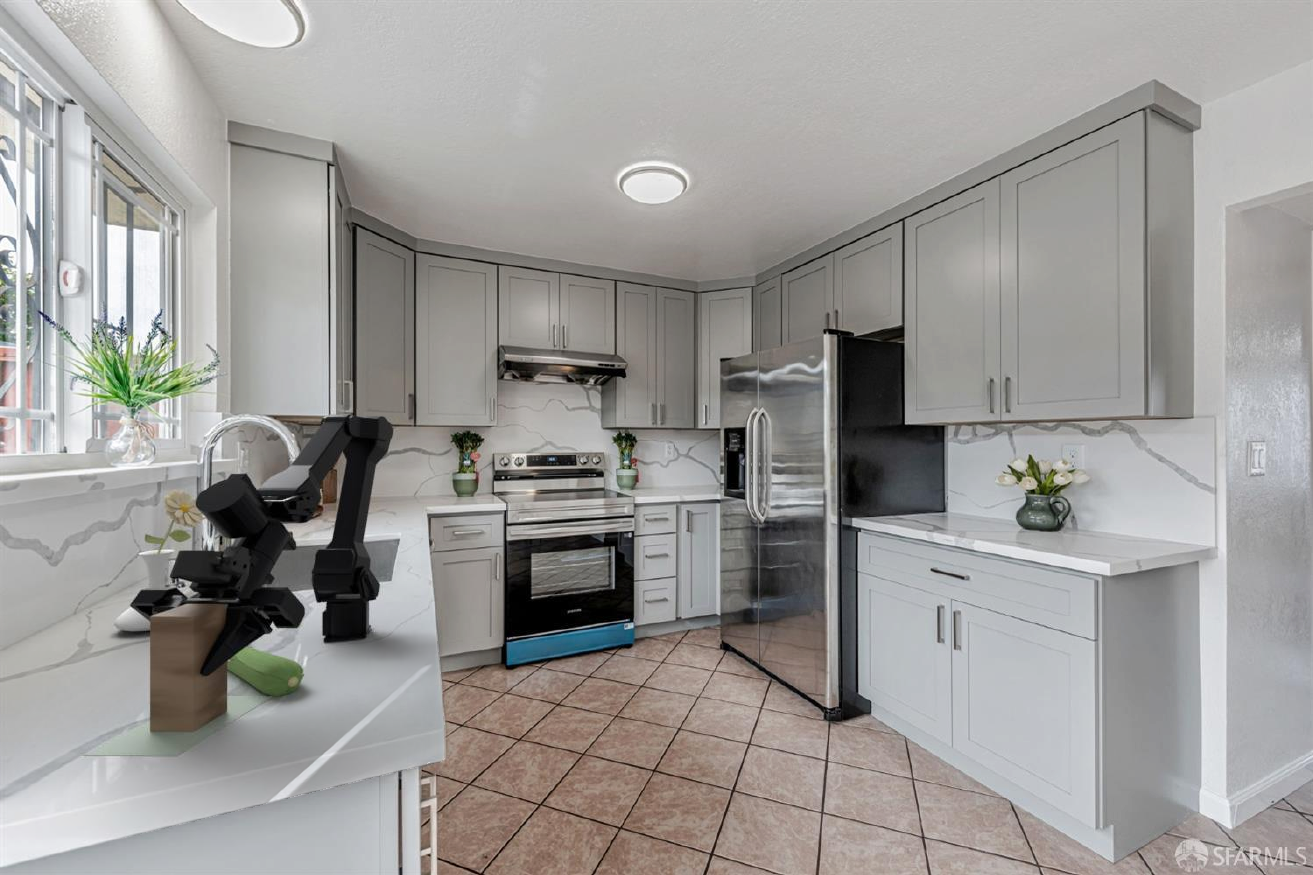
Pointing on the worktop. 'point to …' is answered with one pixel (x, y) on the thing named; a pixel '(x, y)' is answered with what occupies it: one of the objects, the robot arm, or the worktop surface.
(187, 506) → the flower in vase
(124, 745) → the sage board
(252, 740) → the worktop surface
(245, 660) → the green zucchini
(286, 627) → the robot arm
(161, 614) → the walnut post
